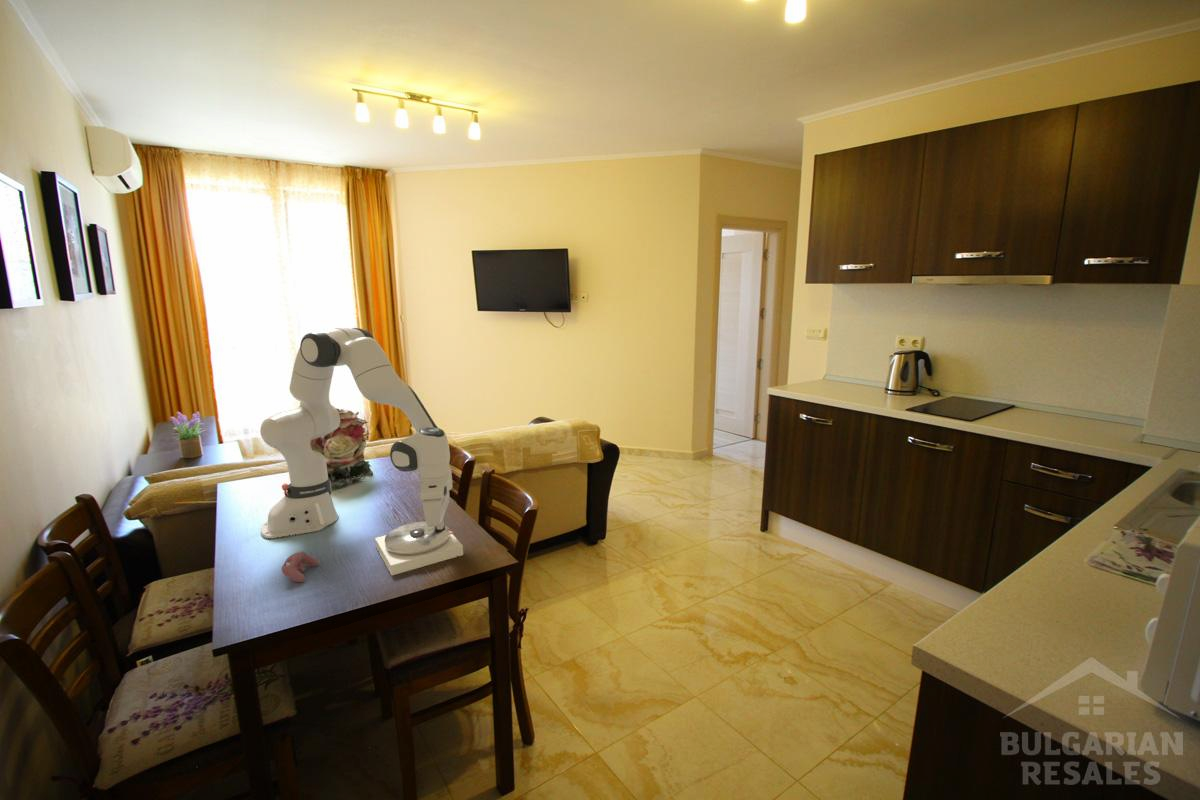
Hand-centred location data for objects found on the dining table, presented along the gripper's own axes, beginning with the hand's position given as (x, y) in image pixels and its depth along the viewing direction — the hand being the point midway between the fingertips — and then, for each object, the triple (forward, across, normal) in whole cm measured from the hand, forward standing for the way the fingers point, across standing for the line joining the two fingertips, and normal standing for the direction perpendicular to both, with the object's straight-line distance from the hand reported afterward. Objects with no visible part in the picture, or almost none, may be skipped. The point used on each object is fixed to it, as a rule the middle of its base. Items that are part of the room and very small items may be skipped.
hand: (440, 528), depth 156 cm
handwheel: (+4, -1, -7) cm, 8 cm away
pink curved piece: (+7, +8, -36) cm, 38 cm away
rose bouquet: (+6, -70, -51) cm, 87 cm away
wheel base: (+7, -1, -7) cm, 10 cm away
